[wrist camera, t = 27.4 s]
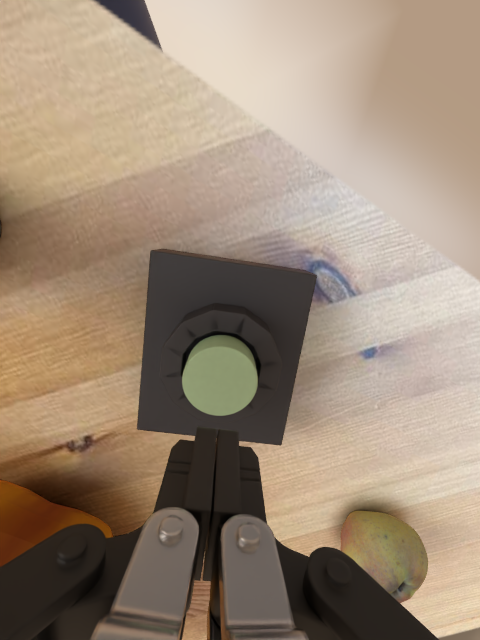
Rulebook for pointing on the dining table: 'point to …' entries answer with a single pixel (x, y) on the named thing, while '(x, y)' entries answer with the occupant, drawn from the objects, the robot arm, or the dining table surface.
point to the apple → (386, 551)
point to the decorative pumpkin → (34, 520)
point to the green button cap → (220, 375)
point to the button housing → (221, 319)
